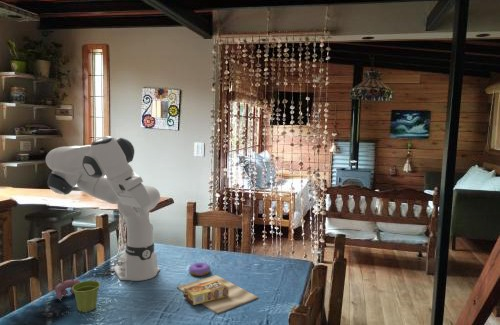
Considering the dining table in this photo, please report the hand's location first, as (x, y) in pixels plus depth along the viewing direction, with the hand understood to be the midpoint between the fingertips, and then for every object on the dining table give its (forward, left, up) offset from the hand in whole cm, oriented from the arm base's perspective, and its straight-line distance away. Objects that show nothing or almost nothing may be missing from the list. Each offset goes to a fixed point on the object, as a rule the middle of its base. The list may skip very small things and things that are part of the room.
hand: (141, 215), depth 135 cm
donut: (-17, +36, -36) cm, 54 cm away
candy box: (+5, +16, -33) cm, 37 cm away
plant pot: (-14, -15, -36) cm, 41 cm away
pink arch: (-29, -16, -36) cm, 49 cm away
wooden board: (+5, +30, -35) cm, 46 cm away
